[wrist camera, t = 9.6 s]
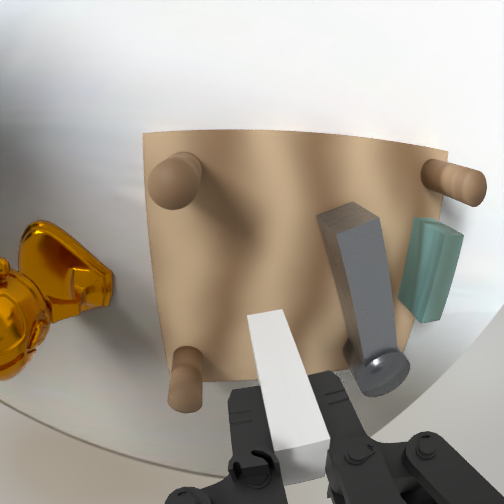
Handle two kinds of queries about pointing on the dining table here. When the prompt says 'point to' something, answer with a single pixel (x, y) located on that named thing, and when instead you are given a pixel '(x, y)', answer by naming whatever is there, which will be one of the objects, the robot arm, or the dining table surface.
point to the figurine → (45, 291)
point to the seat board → (286, 241)
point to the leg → (364, 297)
